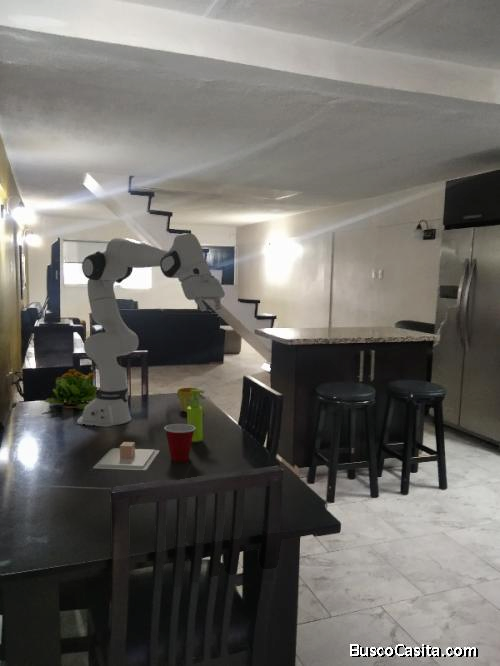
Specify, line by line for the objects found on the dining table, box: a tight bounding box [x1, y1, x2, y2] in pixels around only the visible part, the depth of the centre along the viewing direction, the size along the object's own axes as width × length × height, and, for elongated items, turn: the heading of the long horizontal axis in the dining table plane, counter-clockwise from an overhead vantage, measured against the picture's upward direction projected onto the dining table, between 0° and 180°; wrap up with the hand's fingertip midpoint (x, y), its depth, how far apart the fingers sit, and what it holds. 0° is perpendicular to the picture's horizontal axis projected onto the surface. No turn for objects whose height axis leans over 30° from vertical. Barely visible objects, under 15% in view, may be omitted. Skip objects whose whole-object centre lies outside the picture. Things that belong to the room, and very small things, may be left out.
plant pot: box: [176, 387, 201, 413], centre depth 234 cm, size 10×10×10 cm
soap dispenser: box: [186, 388, 206, 443], centre depth 192 cm, size 6×7×20 cm
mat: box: [92, 448, 160, 471], centre depth 173 cm, size 18×18×1 cm
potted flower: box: [43, 368, 99, 410], centre depth 239 cm, size 25×24×18 cm
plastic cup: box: [163, 423, 196, 463], centre depth 173 cm, size 11×11×12 cm
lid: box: [98, 441, 156, 468], centre depth 173 cm, size 15×15×5 cm
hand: (211, 310), depth 179 cm, fingers open, 8 cm apart
